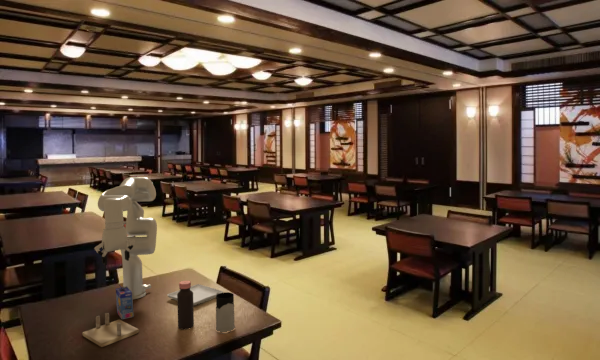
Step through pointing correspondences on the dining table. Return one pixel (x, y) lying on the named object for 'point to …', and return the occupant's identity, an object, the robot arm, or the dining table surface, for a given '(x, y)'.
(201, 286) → the salad plate
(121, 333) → the pin board
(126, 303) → the ink cartridge box
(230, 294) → the glass holder
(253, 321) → the dining table surface
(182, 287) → the bottle
